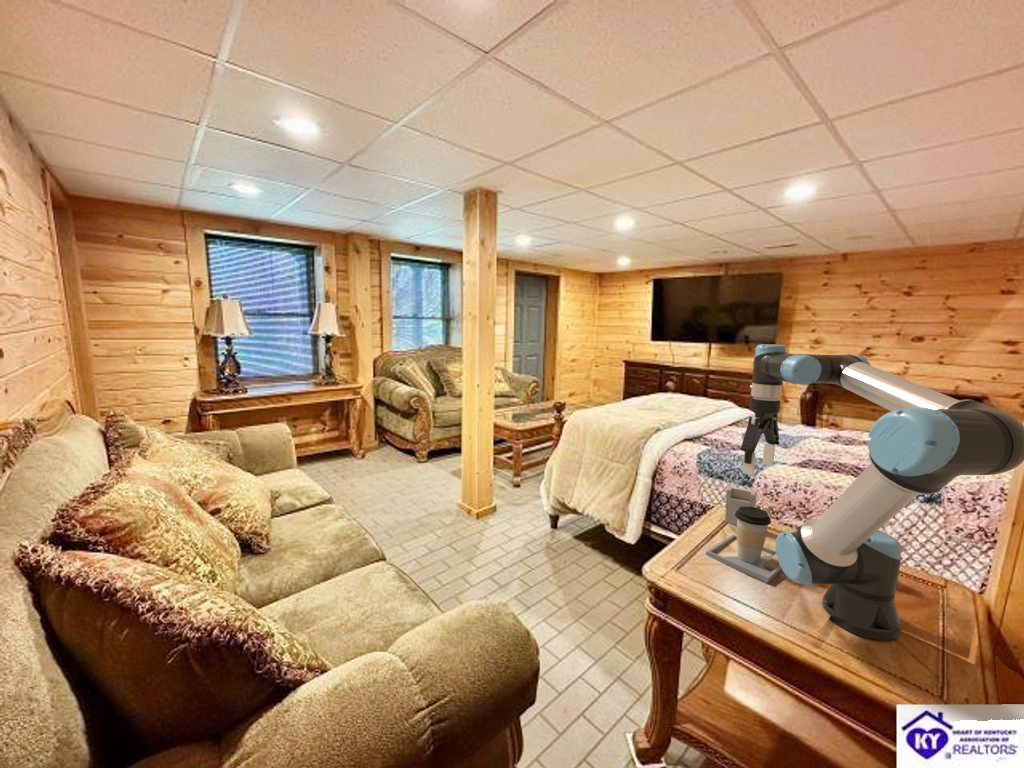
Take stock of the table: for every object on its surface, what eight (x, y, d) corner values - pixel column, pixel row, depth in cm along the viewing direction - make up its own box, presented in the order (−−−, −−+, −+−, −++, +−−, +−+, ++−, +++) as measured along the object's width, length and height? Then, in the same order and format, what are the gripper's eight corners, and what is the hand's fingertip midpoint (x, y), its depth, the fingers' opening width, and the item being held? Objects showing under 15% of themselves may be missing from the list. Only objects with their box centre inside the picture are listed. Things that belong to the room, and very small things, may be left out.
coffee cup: (757, 551, 135) (762, 506, 133) (772, 568, 126) (777, 519, 124) (726, 549, 136) (730, 504, 134) (738, 566, 127) (743, 517, 125)
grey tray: (792, 563, 130) (792, 557, 130) (767, 584, 119) (768, 578, 119) (732, 539, 143) (733, 534, 143) (705, 556, 133) (706, 551, 132)
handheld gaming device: (752, 534, 147) (754, 528, 150) (755, 495, 144) (756, 490, 147) (724, 527, 153) (726, 522, 156) (726, 489, 149) (728, 484, 152)
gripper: (769, 392, 135) (762, 458, 138) (731, 400, 119) (725, 474, 122) (796, 396, 129) (788, 464, 132) (760, 404, 113) (753, 482, 116)
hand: (758, 469), depth 127 cm, fingers open, 13 cm apart
